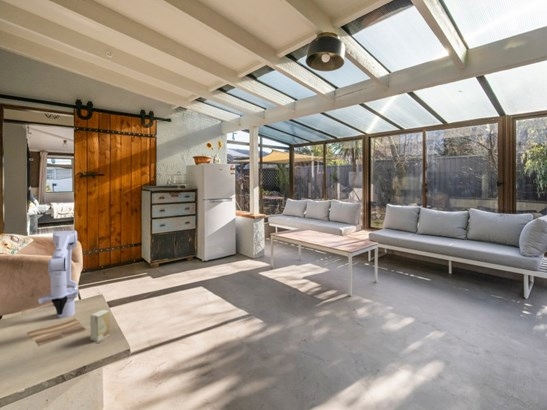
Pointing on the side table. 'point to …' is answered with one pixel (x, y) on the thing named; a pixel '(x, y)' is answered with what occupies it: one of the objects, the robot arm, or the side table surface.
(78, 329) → the plank
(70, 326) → the laid oak row
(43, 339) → the plank
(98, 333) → the skincare box
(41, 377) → the side table surface
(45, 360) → the side table surface
